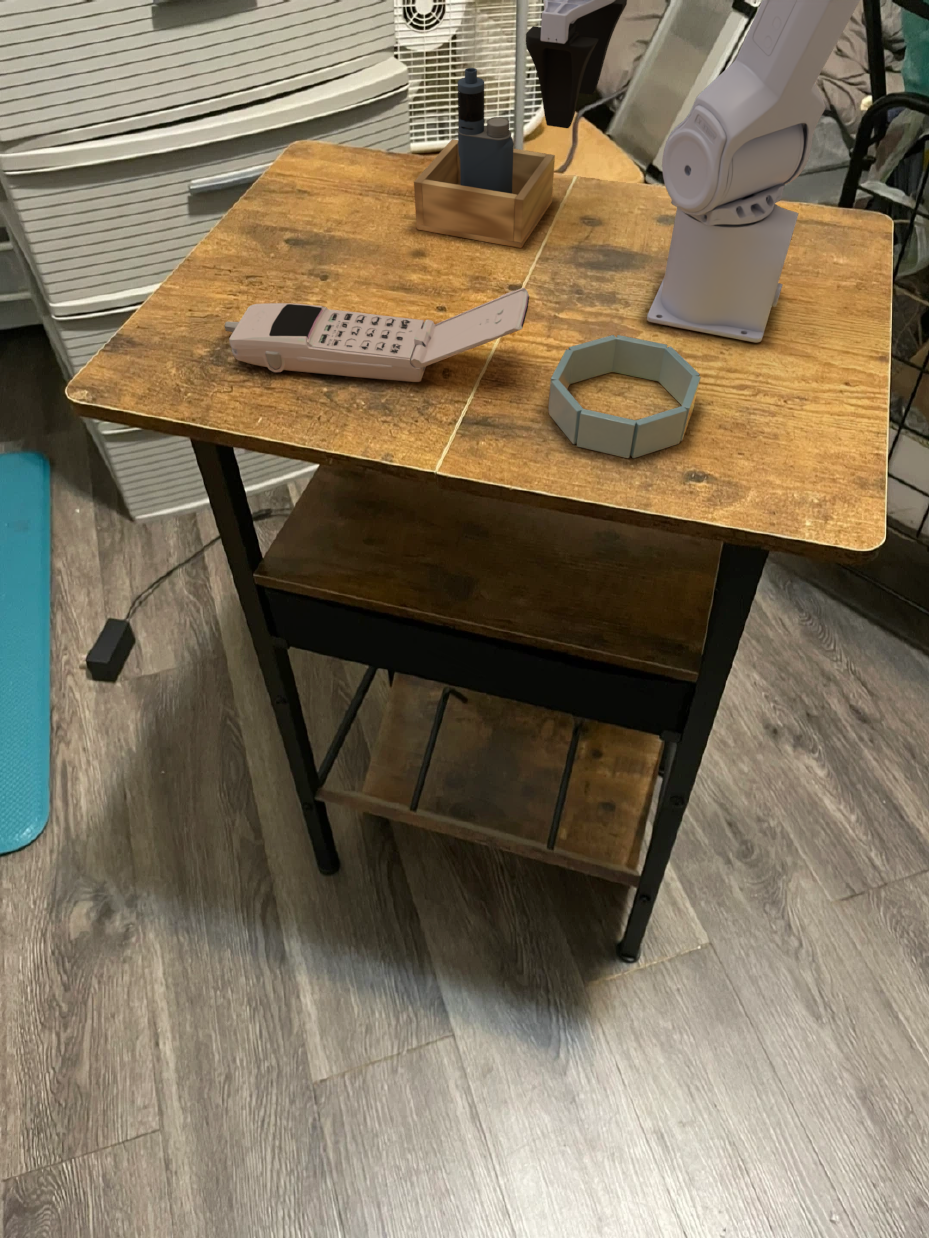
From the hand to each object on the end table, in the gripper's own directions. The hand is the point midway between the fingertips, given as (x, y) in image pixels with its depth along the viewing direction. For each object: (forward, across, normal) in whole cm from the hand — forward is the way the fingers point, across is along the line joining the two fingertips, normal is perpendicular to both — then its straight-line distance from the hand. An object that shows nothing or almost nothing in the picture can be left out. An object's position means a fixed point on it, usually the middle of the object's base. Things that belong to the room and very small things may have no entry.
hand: (571, 108), depth 77 cm
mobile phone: (+10, +29, -8) cm, 31 cm away
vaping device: (+9, +3, -7) cm, 12 cm away
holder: (+9, +3, -7) cm, 12 cm away
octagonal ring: (+9, +28, +13) cm, 32 cm away
